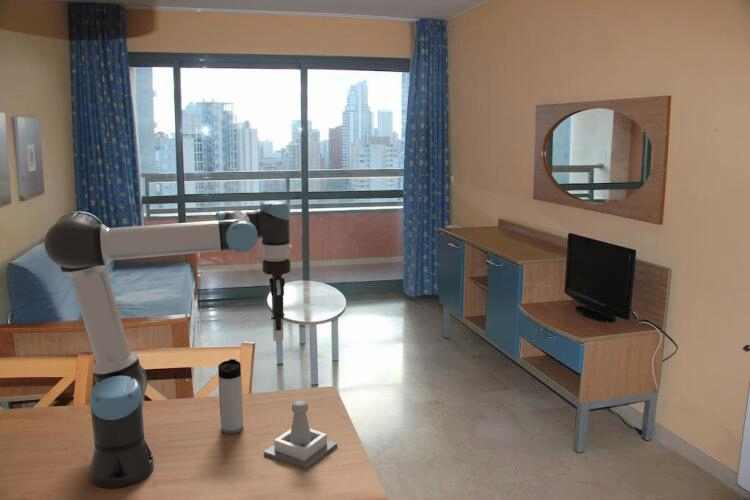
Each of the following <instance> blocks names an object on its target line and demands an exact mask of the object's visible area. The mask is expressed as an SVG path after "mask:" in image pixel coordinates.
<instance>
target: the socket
mask: <svg viewBox="0 0 750 500" xmlns="http://www.w3.org/2000/svg"><path fill="white" fill-rule="evenodd" d="M309 429H310V433H311V442H310V443H309V444H307V445H306V446H304V447H301V446H298V445H295V444H293V443H290V434H291V428H290V429H288V430H287V431H286V432H284V433H283V434H281V435H279V436H278V437H277V438H275V439H274V440H273V443H274V444H273V445H271V446H270V447H268V448H267V449H265V450H263V456H266V457H269V458H272V459H274V460H277V461H279V462H282V463H284V464H288V465H289V466H293V467H296V468H297V469H298V468H299V469H301V470H303V471H308V470H309V469H310V468H311V467H313V466H314V465H315V464H316V463H318V462H319V461H320V460H321V459H323V458H324V457H326V456H327V455H328V454H329V453H331V452H332V451H333V450H334V449H335V448H337V447H338V442H335V441H334V440H330V439H328V434H327V433H324V432H322V431H319V430H315V429H312V428H310V427H309Z"/></svg>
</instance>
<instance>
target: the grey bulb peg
mask: <svg viewBox="0 0 750 500" xmlns="http://www.w3.org/2000/svg"><path fill="white" fill-rule="evenodd" d="M308 410H309V403H308V402H307V401H306V400H301V399H300V400H296V401H293V403H292V404H291V411H292V412H293V417H292V422H291V423H292V424H291V428H290V429H291V434H290V443H293V444H295V445H298V446H301V447H304V446H306V445H307V444H309V443H310V442H311V433H310V429H311V428H310V425H309V422H308V416H307V412H308ZM309 428H310V429H309Z"/></svg>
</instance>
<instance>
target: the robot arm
mask: <svg viewBox="0 0 750 500" xmlns="http://www.w3.org/2000/svg"><path fill="white" fill-rule="evenodd" d="M289 211H290V210H289V204H288V203H287V202H285V201H283V200H269V201H268V200H267V201H262V202H261V204H260V208H259V209H252V210H250V209H248V210H244V209H243V210H230V209H229V210H224V211H223V210H222V211H217V212H216V213H215V217H214V220H205V221H204V220H203V221H192V222H191V221H190V222H178V223H177V222H176V223H164V224H151V225H150V224H149V225H136V226H135V225H134V226H125V227H124V226H121V227H108V226H106V225H105V224H103V222H102V221H101V220H100V218H99V217H97V216H96V215H94V214H92V213H90V212H86V211H77V210H76V211H72V212H69V213H66V214H64V215H62V216H60V217H59V218H58V219H57V221H56V222H55V223H54V224H53V225H52V226H51V227H49V229H48V230H47V231H46V234H45V236H44V240H43V241H44V243H43V246H44V250H45V252H46V253H45V254H46V255H47V257H48V258H49V259H50V260H51V261H52V262H53V263H54V264H56V265H58V266H59V267H60V270H61V272H62V273H63V274H65V275H66V276H69V277H70V280H71V283H72V287H73V290H74V293H75V294H74V295H75V297H76V300H77V303H78V307H79V310H80V312H81V316H82V319H83V323H84V326H85V329H86V332H87V336H88V339H89V343H90V345H91V349H92V352H93V355H94V359H95V363H94V364H93V366H92V369H91V370H92V374H93V377H94V381H95V385H93V387H92V388H91V390H90V393H89V394H90V395H89V407H90V410H91V412H90V413H91V414H90V415H91V423H92V431H93V432H92V433H93V443H94V450H93V453H92V458H91V463H90V465H89V471H88V472H89V480H90V481H91V483H92V484H93V485H95V486H97V487H100V488H104V489H105V488H106V489H116V488H117V489H118V488H122V487H123V488H124V487H127V486H132V485H134V484H137V483H139V482H141V481H143V480H144V479H146V478H147V477H149V475H150V474H151V473H152V472H153V470H154V468H155V462H154V455H153V454H152V451H151V449H150V447H149V445H148V443H147V441H146V439H145V429H144V427H145V426H144V414H143V409H144V403H145V396H146V390H147V388H148V377H147V374H146V371H145V368H143V366H142V365H141V363H140V359H139V356H138V354H137V353H136V352H133V351H131V350H130V347H129V343H128V340H127V336H126V332H125V330H124V325H123V321H122V318H121V315H120V311H119V308H118V305H117V302H116V298H115V294H114V292H113V291H114V290H113V287H112V284H111V280H110V276H109V273H108V270H107V266H108V265H109V264H110V263H111V262H112V261H116V260H117V261H119V260H130V259H143V258H153V257H165V256H166V257H167V256H176V255H177V256H178V255H188V254H189V255H190V254H199V253H210V252H213V253H214V252H222V251H226V252H227V251H234V252H236V253H240V254H241V253H242V254H243V253H247V252H251V250H253V249H254V248H255V246H256V244H257V243H258V239H259V238H260V239H261V257H262V258H263V259H262V263H261V264H262V272H263V273H264V274H266V275H271V277H269V279H268V283H269V286H270V288H269V289H270V293H271V304H272V305H271V307H272V308H271V312H272V316H271V317H270V320H272V332H273V334H272V338H273V342H278V341H279V342H281V341H284V317H285V315H286V314H285V312H284V295H285V285H286V284H285V279H284V276H282V275H286V274H289V273H290V272H291V259H290V258H289V257H290V256H291V251H290V250H292V249H293V246H292V245H290V243H291V241H290V233H291V232H290V230H291V229H290V228H291V227H290V220H291V219H290V212H289Z"/></svg>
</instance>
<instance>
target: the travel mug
mask: <svg viewBox="0 0 750 500" xmlns="http://www.w3.org/2000/svg"><path fill="white" fill-rule="evenodd" d="M217 368H218V371H217V372H218V393H219V394H218V395H219V396H218V397H219V413H220V429H221V432H222V433H223V434H227V435H228V434H229V435H233V434H238V433H239V432H241V431H242V430H243V429H244V412H243V411H244V410H243V408H244V407H243V385H242V384H243V383H242V371H241V370H242V366H241V362H239V361H238V360H237V359H235V358H233V359H232V358H230V359H229V360H224V361H222V362H220V363H219V365H218V366H217Z"/></svg>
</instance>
